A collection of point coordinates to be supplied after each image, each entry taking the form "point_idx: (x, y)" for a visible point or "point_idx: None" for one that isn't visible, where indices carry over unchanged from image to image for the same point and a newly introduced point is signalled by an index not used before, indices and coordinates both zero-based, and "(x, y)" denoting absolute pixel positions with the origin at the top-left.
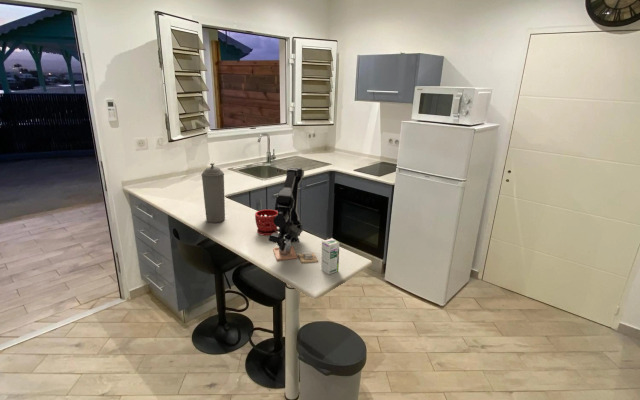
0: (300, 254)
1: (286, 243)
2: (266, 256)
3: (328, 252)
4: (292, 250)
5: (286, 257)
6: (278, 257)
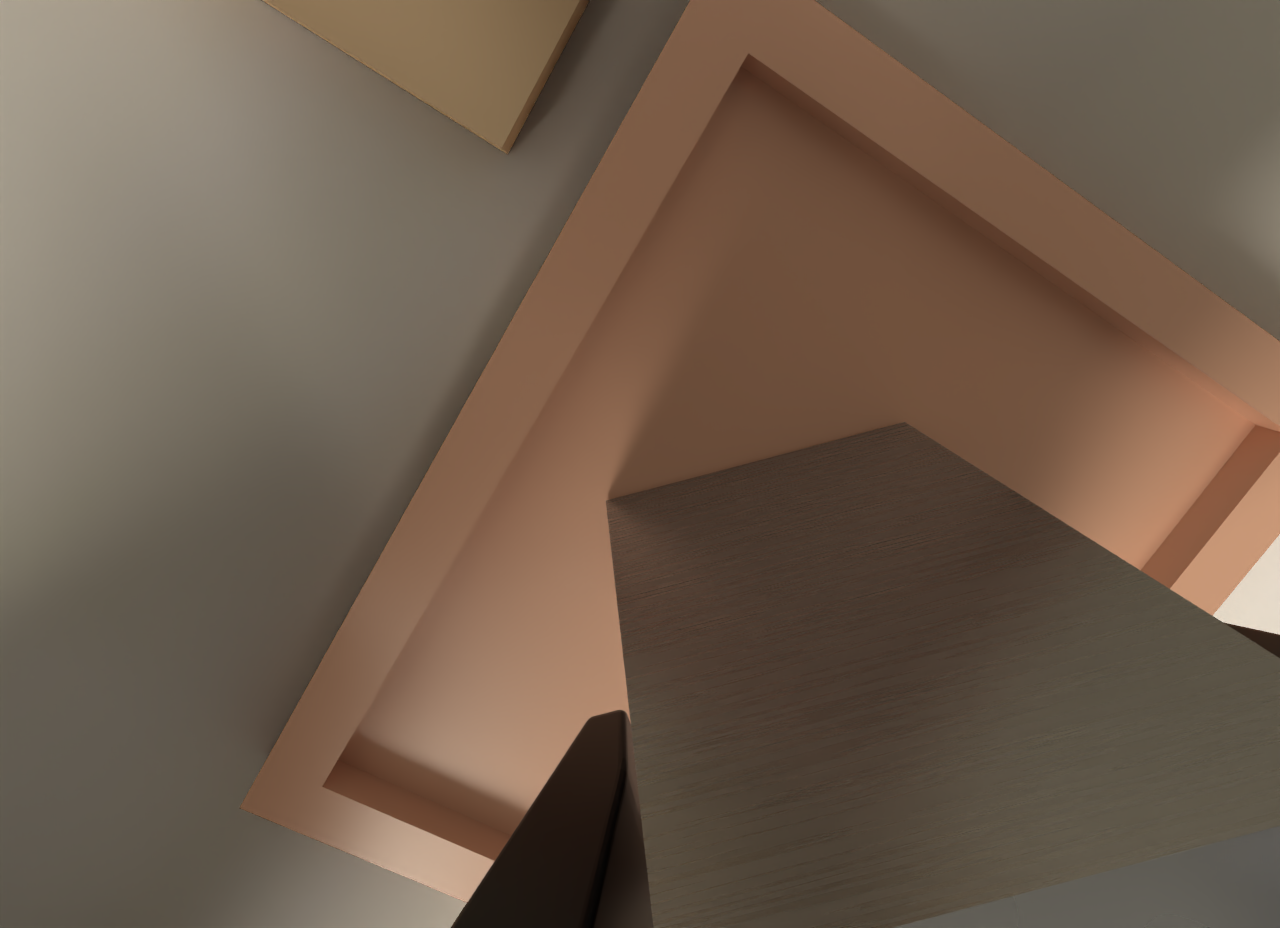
0: (439, 40)
1: (1249, 720)
2: None
3: None
4: (442, 575)
5: (1079, 242)
6: (1159, 503)
